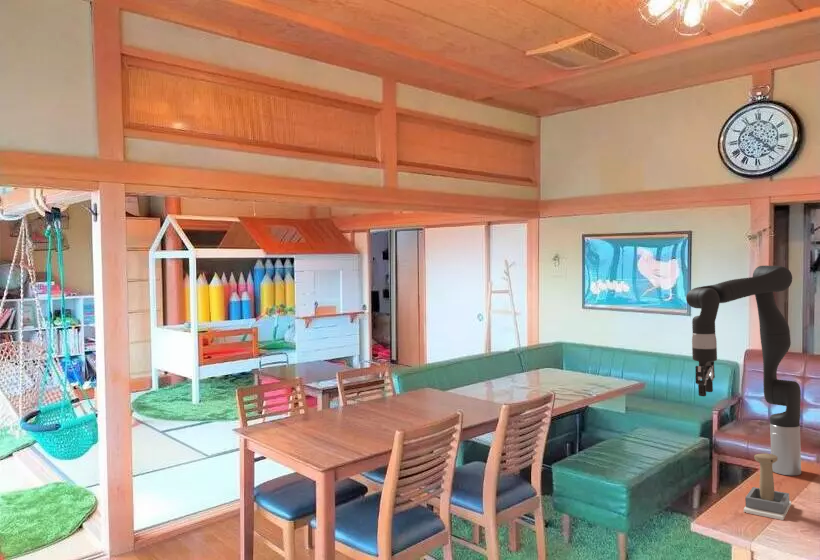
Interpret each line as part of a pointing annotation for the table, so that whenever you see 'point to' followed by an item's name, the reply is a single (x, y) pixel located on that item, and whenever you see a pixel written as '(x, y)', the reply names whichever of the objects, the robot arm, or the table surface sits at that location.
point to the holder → (767, 504)
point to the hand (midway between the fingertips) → (705, 393)
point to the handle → (766, 475)
